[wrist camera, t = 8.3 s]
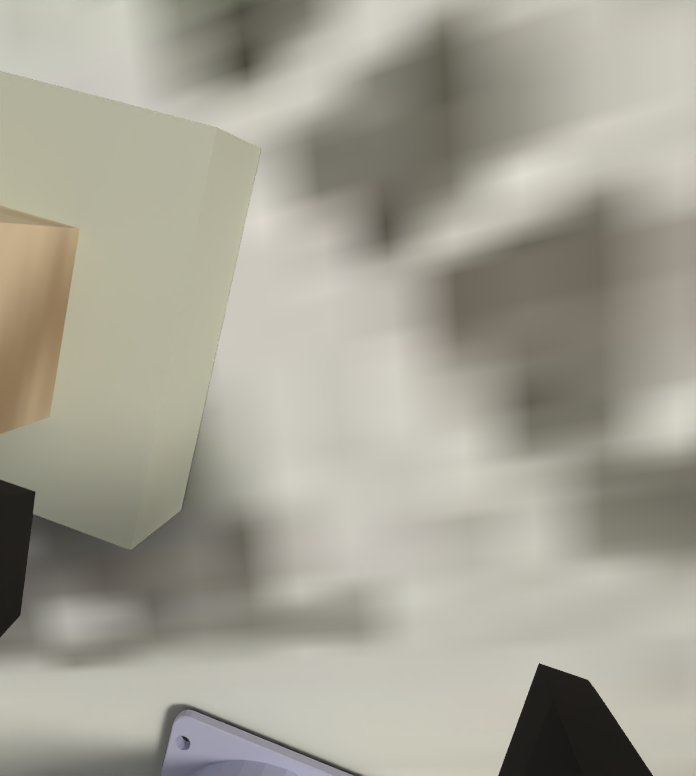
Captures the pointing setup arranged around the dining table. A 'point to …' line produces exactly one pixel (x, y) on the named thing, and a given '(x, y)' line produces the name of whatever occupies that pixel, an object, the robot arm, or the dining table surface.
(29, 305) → the maple block
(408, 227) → the dining table surface
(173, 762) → the robot arm
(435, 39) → the dining table surface
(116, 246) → the sage slab
